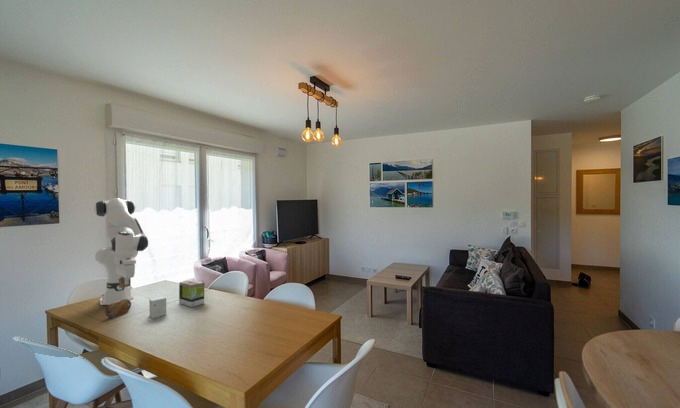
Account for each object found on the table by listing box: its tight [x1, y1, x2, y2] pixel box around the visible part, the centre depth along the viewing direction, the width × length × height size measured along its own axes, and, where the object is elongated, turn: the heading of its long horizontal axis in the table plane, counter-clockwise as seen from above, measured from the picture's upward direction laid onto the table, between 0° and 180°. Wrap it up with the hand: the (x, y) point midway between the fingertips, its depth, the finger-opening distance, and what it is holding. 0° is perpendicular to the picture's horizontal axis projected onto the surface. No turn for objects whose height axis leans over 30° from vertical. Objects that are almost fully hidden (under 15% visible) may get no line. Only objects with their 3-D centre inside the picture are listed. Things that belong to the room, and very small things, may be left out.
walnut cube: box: [119, 278, 132, 288], centre depth 166 cm, size 4×4×4 cm
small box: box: [149, 295, 167, 319], centre depth 176 cm, size 8×6×10 cm
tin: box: [104, 299, 132, 319], centre depth 177 cm, size 15×3×8 cm, turn 168°
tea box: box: [178, 279, 205, 308], centre depth 198 cm, size 15×10×15 cm, turn 58°
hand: (124, 283), depth 166 cm, fingers closed on walnut cube, 4 cm apart
